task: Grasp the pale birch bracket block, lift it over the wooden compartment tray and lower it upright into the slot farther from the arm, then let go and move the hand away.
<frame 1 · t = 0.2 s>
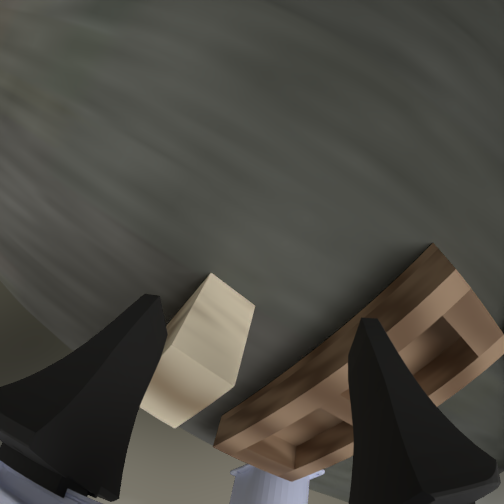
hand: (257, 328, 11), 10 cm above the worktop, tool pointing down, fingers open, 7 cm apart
wooden compartment tray: (351, 380, 25), on the worktop
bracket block: (206, 317, 24), on the worktop
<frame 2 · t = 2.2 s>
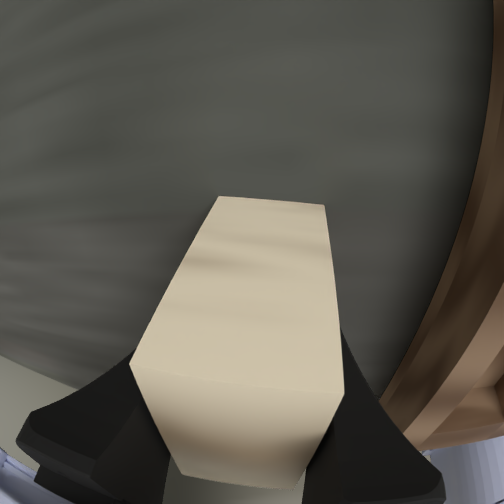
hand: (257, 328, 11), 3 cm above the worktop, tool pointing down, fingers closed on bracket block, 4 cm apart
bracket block: (266, 275, 14), on the worktop, touching gripper
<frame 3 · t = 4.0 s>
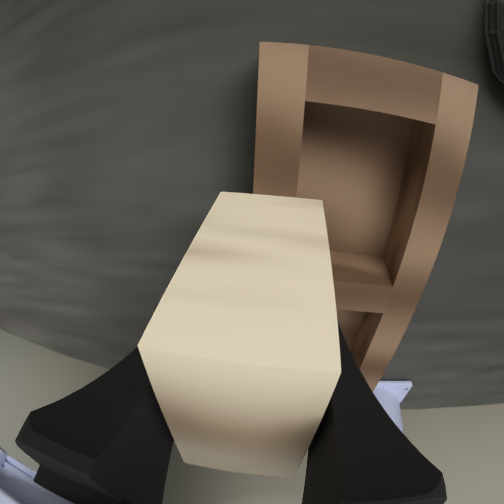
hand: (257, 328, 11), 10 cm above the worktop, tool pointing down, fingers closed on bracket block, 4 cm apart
wooden compartment tray: (333, 256, 21), on the worktop
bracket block: (266, 268, 14), point 6 cm above the worktop, touching gripper
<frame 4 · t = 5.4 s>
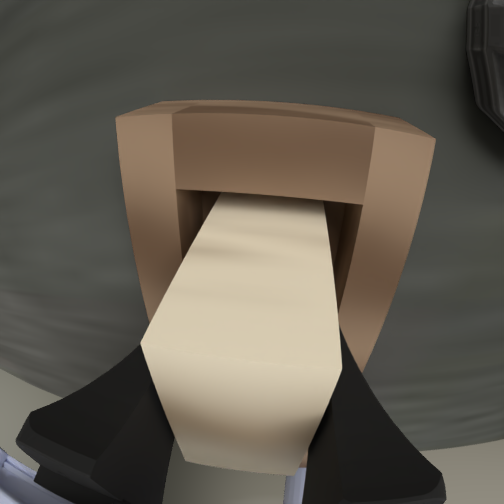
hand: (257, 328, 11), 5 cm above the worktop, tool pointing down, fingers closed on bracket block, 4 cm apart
wooden compartment tray: (264, 329, 19), on the worktop
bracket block: (267, 267, 14), point 1 cm above the worktop, touching gripper
when the fingers open (5 cm above the worktop, at t = 6.0 s): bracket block stays where it is, resting on wooden compartment tray.
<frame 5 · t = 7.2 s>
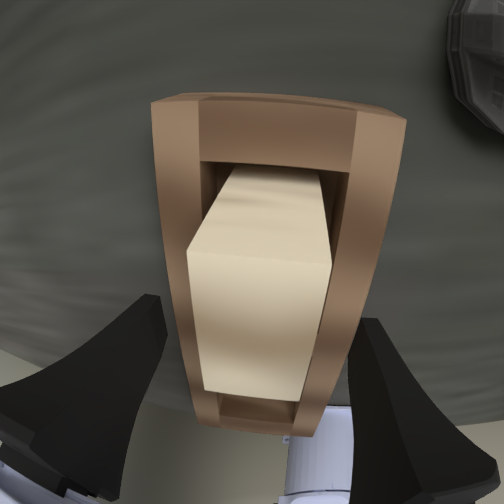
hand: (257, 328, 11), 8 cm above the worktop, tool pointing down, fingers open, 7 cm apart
wooden compartment tray: (269, 295, 21), on the worktop
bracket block: (273, 229, 17), point 1 cm above the worktop, touching wooden compartment tray
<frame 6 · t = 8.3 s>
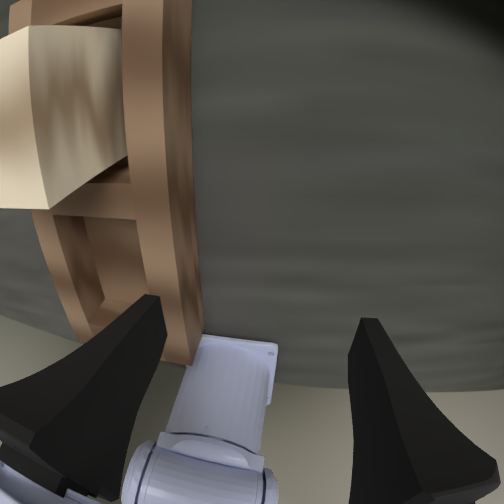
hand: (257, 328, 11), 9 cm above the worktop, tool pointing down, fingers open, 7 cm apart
wooden compartment tray: (120, 174, 19), on the worktop
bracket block: (103, 93, 15), point 1 cm above the worktop, touching wooden compartment tray
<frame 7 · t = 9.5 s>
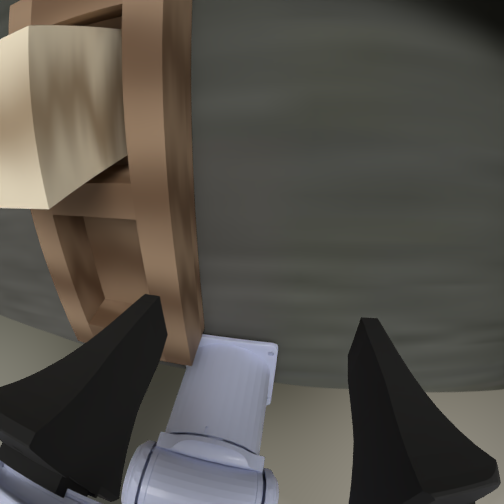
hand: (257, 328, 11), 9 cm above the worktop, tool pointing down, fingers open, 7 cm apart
wooden compartment tray: (120, 174, 19), on the worktop
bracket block: (103, 93, 15), point 1 cm above the worktop, touching wooden compartment tray
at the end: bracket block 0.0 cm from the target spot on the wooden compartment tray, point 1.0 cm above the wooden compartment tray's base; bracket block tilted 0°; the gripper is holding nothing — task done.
